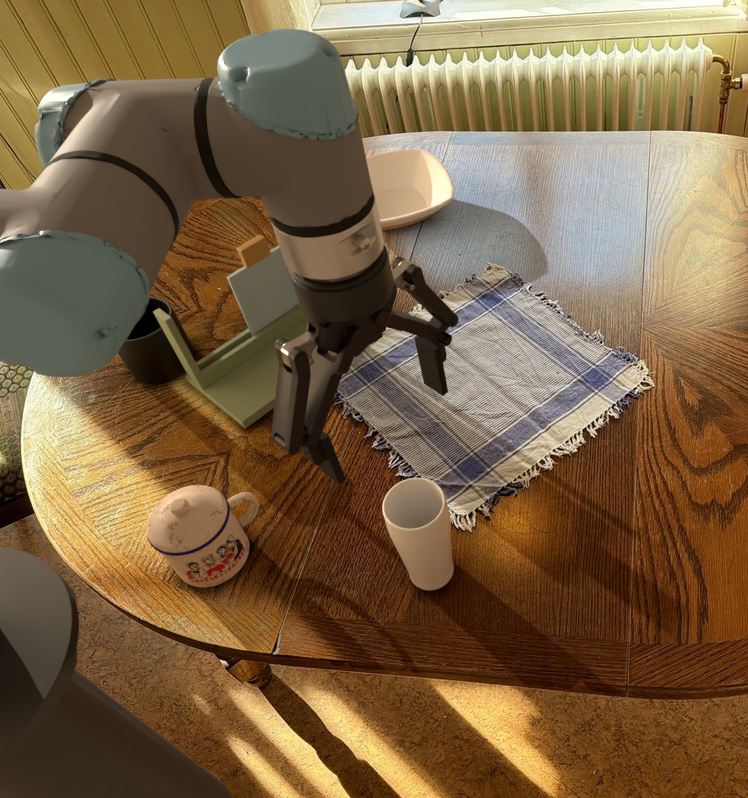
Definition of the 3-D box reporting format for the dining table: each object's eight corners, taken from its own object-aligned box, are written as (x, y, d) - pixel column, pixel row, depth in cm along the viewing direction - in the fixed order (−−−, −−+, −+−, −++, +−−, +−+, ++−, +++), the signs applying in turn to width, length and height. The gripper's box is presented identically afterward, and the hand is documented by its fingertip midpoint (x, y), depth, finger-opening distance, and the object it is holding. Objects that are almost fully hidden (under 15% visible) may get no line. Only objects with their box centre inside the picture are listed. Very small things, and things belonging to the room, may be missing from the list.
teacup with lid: (195, 605, 87) (154, 556, 78) (163, 554, 91) (121, 502, 83) (286, 544, 92) (258, 491, 83) (252, 498, 96) (221, 443, 88)
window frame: (245, 429, 104) (206, 354, 93) (188, 382, 110) (146, 306, 99) (363, 342, 115) (342, 265, 103) (306, 304, 121) (280, 227, 110)
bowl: (324, 192, 142) (317, 167, 138) (432, 165, 147) (429, 141, 143) (351, 257, 128) (344, 232, 124) (469, 226, 134) (466, 200, 130)
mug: (166, 324, 119) (142, 280, 112) (207, 359, 113) (185, 315, 106) (111, 356, 114) (82, 313, 107) (151, 395, 109) (123, 351, 102)
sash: (258, 346, 113) (222, 262, 100) (253, 342, 113) (217, 258, 101) (310, 310, 117) (282, 226, 105) (306, 307, 118) (277, 223, 106)
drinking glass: (412, 543, 92) (392, 472, 80) (466, 551, 91) (453, 480, 79) (396, 593, 87) (372, 526, 76) (453, 602, 86) (437, 535, 75)
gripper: (227, 372, 48) (311, 538, 65) (483, 194, 61) (500, 372, 77) (163, 323, 52) (258, 493, 68) (419, 164, 64) (448, 340, 80)
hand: (387, 429), depth 72 cm, fingers open, 13 cm apart
